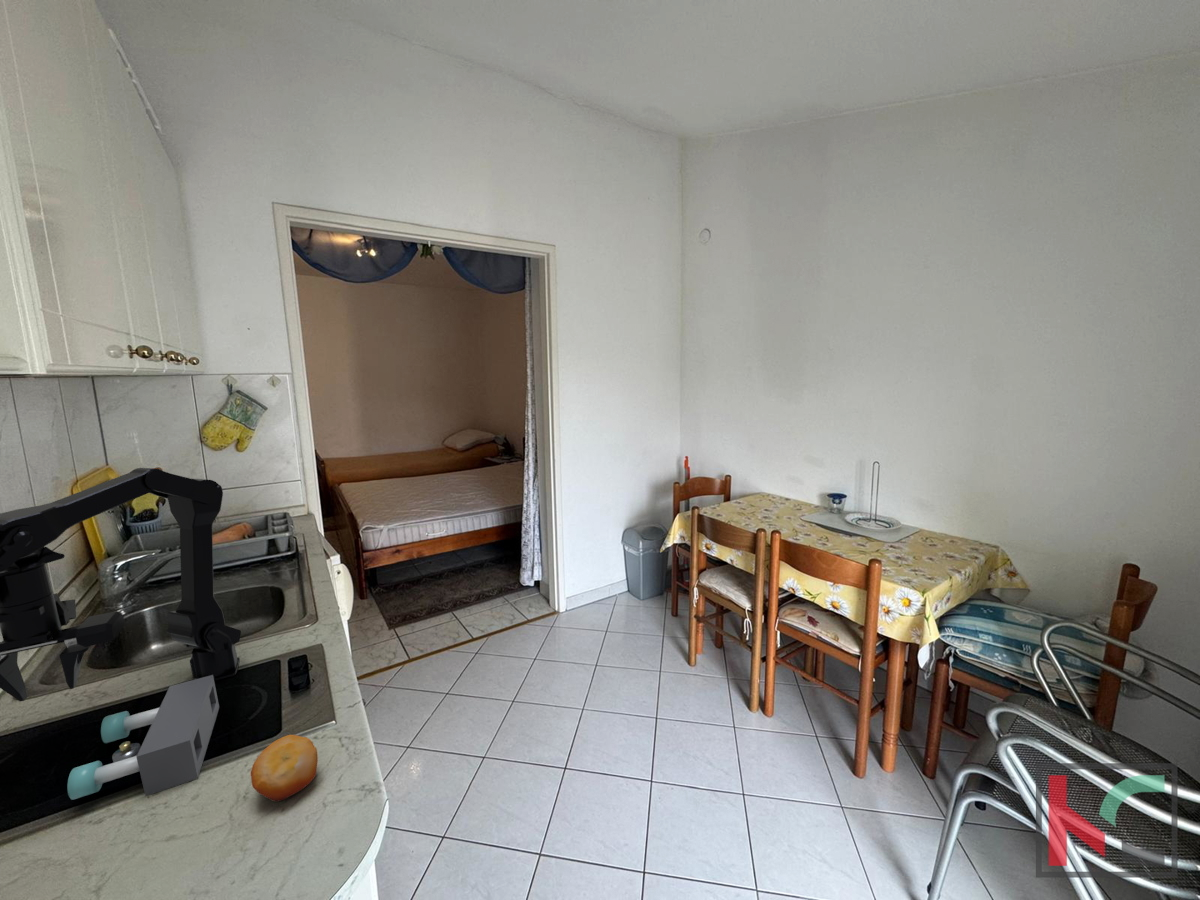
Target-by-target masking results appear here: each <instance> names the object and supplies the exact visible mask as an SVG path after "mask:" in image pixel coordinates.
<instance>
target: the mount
mask: <svg viewBox="0 0 1200 900" xmlns="http://www.w3.org/2000/svg"><path fill="white" fill-rule="evenodd" d="M217 694H218V693H217V688H216V682H215V681H214V677H213V675H210V676H206V677H203V678H199V679H192V680H188V681H184V682H181V683H177V684H172V685H169V687H168V689H167V691H166V693H165V696H164V698H163V700H162V701H161V704H160V706H159V707H158V708H159V710H158V712H157V714H156V716H155V719H154V721H153V723H152V724H150V727H149V729H148V731H147V733H146V735H145V738H144V740H143V742H142V744H141V745H140V746H141V748H140V750H139V752H138V754H137V756H136V757H137V762H138V766H139V770H140V771H139V773H140V774H139V775H140V779H141V782H142V787H143V791H144V796H145V797H148V796H150V795H153V794H155V793H156V794H157V793H158V792H161V791H166V790H169V789H171V788H174V787H176V786H179V785H182V784H186V783H188V782H191V781H194V780H197V779H199V777H200V772H201V769H202V765H203V762H204V759H205V757H206V752H207V749H208V747H209V746H208V745H209V743H210V740H211V736H212V733H213V730H214V727H215V723H216V720H217V717H218V713H219V709H220V704H219V699H218V695H217Z"/></svg>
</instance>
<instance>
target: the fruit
mask: <svg viewBox="0 0 1200 900" xmlns="http://www.w3.org/2000/svg"><path fill="white" fill-rule="evenodd" d="M318 759H319V757H318V749H317V747H315V745H314V742H313V741H312V740H311V739H310V738H308V737H306V736H301V735H296V734H288V735H285V736H282V737H280V738H278V739H276V740H274V741H273V742H272V743H270V744H269V745H268V746H267V747H266V748H264V749H263V750H262V751H261V752H260V753H259V755H258V756H257V758H256V759H255V761H254V762H253V764H252V767H251V769H250V778H251V779H250V780H251V786H252V788H253V789H254V790H255V791H256V792H257V793H258V794H260V795H262V796H263V797H265V798H266V799H268V800H270V801H272V802H281V801H283V800H286V799H288V798H289V797H292V796H293V795H295V794H297V793H299V792H300V791H302V790H303V789H305V787H307V786H308V785H309V784H310V783H311V782H312V781H313V780H314V778H315V777H316V774H317V772H318V771H317V770H318V761H319V760H318Z"/></svg>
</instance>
